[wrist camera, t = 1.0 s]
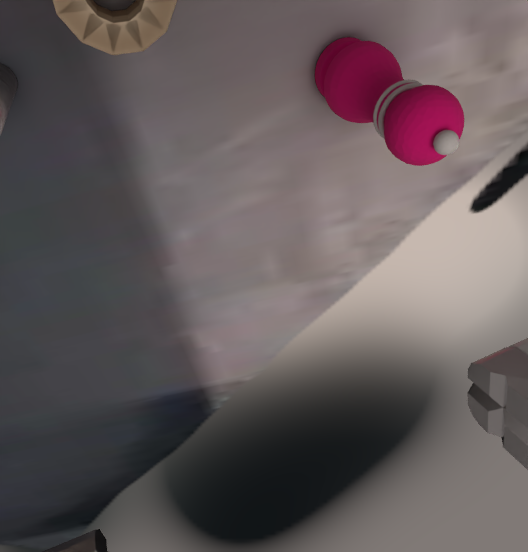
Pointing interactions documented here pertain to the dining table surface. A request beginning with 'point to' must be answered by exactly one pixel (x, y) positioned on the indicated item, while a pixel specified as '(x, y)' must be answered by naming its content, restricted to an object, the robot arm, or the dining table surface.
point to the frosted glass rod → (6, 92)
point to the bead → (117, 23)
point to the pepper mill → (389, 101)
